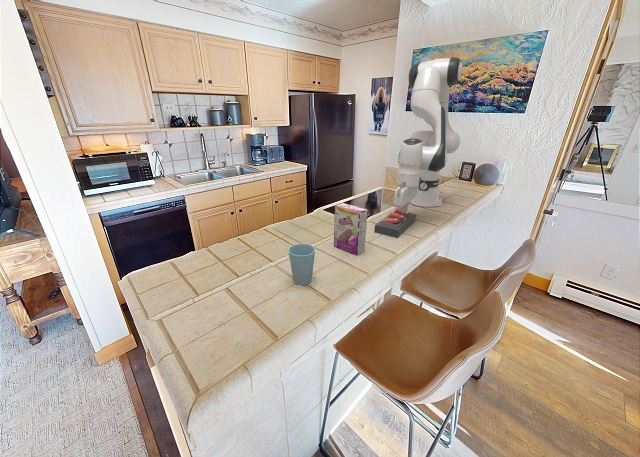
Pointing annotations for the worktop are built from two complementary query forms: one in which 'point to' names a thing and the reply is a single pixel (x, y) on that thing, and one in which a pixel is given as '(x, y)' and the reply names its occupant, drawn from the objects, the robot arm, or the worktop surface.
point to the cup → (302, 263)
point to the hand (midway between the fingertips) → (404, 211)
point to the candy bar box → (350, 228)
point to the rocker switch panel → (395, 225)
